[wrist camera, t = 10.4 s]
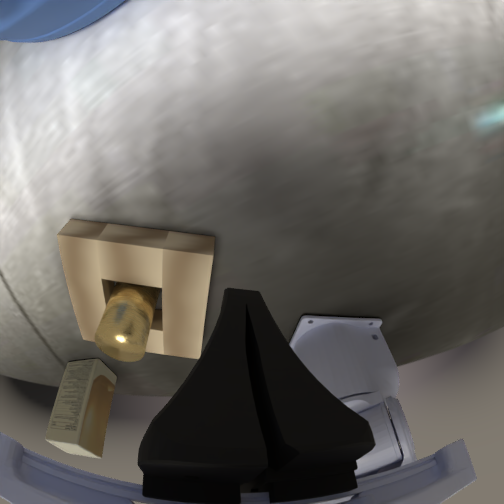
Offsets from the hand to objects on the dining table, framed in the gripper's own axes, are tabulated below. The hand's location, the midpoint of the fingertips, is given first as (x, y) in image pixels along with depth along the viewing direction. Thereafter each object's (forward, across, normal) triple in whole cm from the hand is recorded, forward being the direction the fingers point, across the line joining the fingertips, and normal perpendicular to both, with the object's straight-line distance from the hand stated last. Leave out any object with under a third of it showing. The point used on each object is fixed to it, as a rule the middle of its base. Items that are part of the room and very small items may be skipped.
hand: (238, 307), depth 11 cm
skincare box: (+11, +15, +25) cm, 31 cm away
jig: (+10, +7, +9) cm, 15 cm away
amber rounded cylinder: (+10, +7, +9) cm, 15 cm away
